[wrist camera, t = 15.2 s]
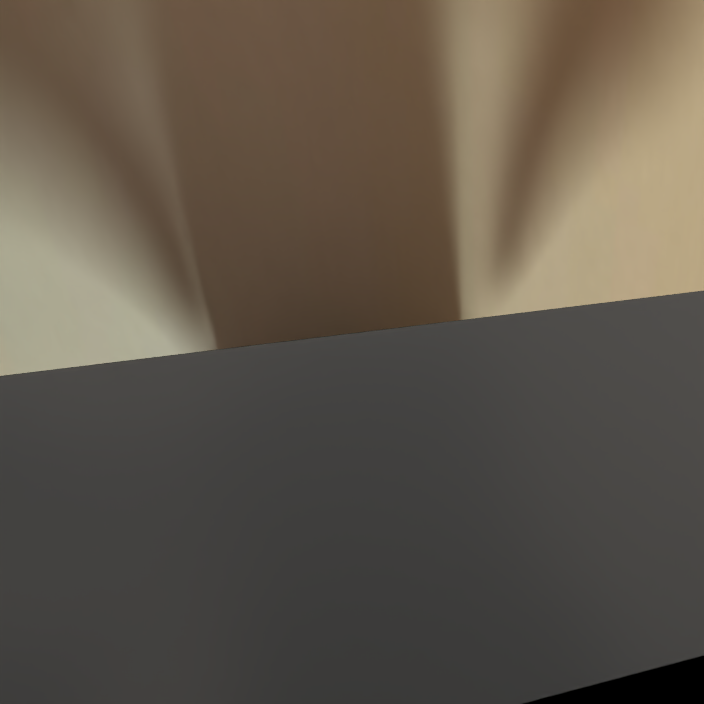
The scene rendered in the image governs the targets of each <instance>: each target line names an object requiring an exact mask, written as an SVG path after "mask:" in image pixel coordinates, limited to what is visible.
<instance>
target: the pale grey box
mask: <svg viewBox="0 0 704 704" xmlns="http://www.w3.org/2000/svg"><path fill="white" fill-rule="evenodd" d="M0 704H704V291H698V292H690V293H681V294H673V295H665V296H657V297H648V298H640V299H632V300H624V301H615V302H607V303H599V304H591V305H582V306H574V307H566V308H558V309H549V310H541V311H533V312H525V313H516V314H508V315H500V316H492V317H483V318H475V319H467V320H459V321H450V322H442V323H434V324H426V325H417V326H409V327H401V328H393V329H384V330H376V331H368V332H360V333H351V334H343V335H335V336H327V337H318V338H310V339H302V340H294V341H286V342H277V343H269V344H261V345H253V346H244V347H236V348H228V349H220V350H211V351H203V352H195V353H187V354H178V355H170V356H162V357H154V358H145V359H137V360H129V361H121V362H112V363H104V364H96V365H88V366H79V367H71V368H63V369H55V370H46V371H38V372H30V373H22V374H13V375H5V376H0Z"/></svg>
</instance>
